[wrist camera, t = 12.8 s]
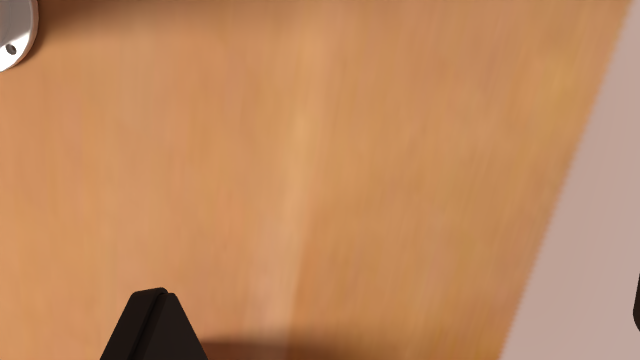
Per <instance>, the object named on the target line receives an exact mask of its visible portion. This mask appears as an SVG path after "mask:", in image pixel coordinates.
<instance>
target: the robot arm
mask: <svg viewBox="0 0 640 360" xmlns="http://www.w3.org/2000/svg"><path fill="white" fill-rule="evenodd" d="M38 22H39V14H38V2H37V0H0V72H3V71H5V70H7V69H9V68H11V67H13V66H15V65H16V64H17V63H18V62H19V61H21V60H22V59H23V58H24V57H25V56H26V55H27V53H28V52H29V50H30V49H31V47H32V46H33V43H34V40H35V37H36V35H37V29H38ZM15 47H16V48H15ZM633 317H634V321H635V324H636V326H637V328H638V329H639V331H640V275H639V281H638V287H637V292H636V298H635V304H634V309H633ZM100 360H208V358H207V356H206V354H205V352H204V350H203V348H202V346H201V344H200V342H199V340H198V338H197V336H196V334H195V332H194V330H193V328H192V326H191V324H190V322H189V320H188V318H187V316H186V314H185V312H184V310H183V308H182V306H181V304H180V302H179V300H178V298H177V296H176V295H175V294H174V293H168V292H167V290H166V289H165V288H162V287H160V288H154V289H148V290H142V291H137V292H134V293H133V294H132V295H131V297H130V298H129V300H128V303H127V305H126V307H125V309H124V311H123V313H122V315H121V317H120V319H119V321H118V323H117V325H116V327H115V329H114V331H113V333H112V335H111V337H110V339H109V341H108V344H107V346H106V348H105V350H104V352H103V354H102V356H101V358H100Z"/></svg>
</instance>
